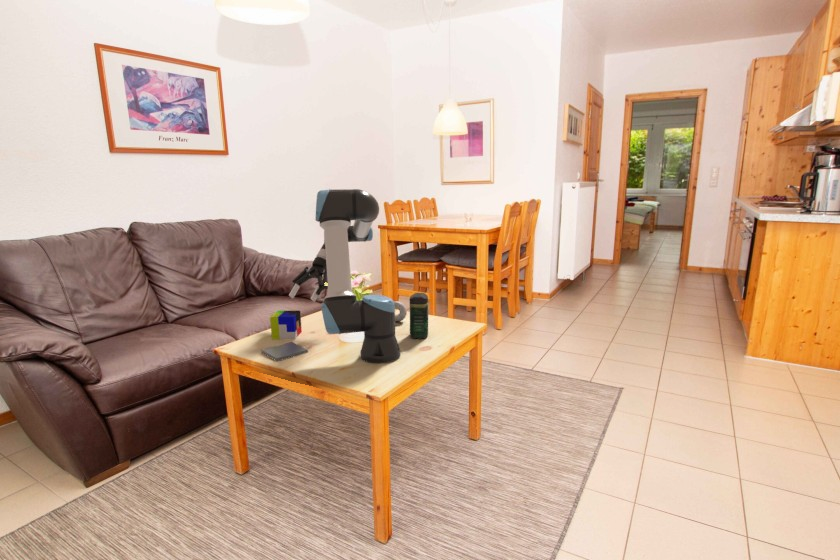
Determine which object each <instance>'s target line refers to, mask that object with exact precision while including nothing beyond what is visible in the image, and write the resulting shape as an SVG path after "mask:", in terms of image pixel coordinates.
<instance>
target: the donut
mask: <svg viewBox="0 0 840 560" xmlns="http://www.w3.org/2000/svg"><path fill="white" fill-rule="evenodd" d="M393 301H394V300H393ZM394 307H395V309H398V311H399V313H398V314H396V313H395V322H396V321H399V322H402V321H403V320H404V319H405V318H406V316H407V312H408V311H407V307H406V306H405V305H404V303H403V302H402V301H394Z"/></svg>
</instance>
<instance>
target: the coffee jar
mask: <svg viewBox="0 0 840 560" xmlns="http://www.w3.org/2000/svg"><path fill="white" fill-rule="evenodd" d="M409 336H410V338H414V339H416V338H421V339H424V338H427V337H428V336H429V295H428V294H426V293H424V292H415V293H413V294H412V295H410V296H409Z"/></svg>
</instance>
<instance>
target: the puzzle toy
mask: <svg viewBox="0 0 840 560" xmlns="http://www.w3.org/2000/svg"><path fill="white" fill-rule="evenodd" d="M301 317H302V316H301V310H277V311H275V312H274V313H273V314H272V315H271V316H270V317H269V319H270V321H269V322H270V332H271V340H296V339H297V338H298V337H299V336H300V334H302V331H303V330H302V329H303V328H302V318H301Z"/></svg>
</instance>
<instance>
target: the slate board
mask: <svg viewBox="0 0 840 560" xmlns="http://www.w3.org/2000/svg"><path fill="white" fill-rule="evenodd" d="M260 351H261V354H263V353H264V354H263V355H265V354H266V355H265V356H267V355H268V356H269V358H270V357H271V358H270V359H272V358H273V359H272V360H274V359H275V360H276V361H275V360H274V361H275V362H279V361H278V360H280V361H282V359H283V360H286V358H287V359H290V358H294V357H297V356H301V355H303V354H307V353H309V350H308V348H305V347H303V346H302V345H299V344H297V343H295V342H293V341H289V342H286V343H282V344H278V345H274V346H271V347H267V348H262V349H261V350H260ZM268 356H267V357H268ZM293 356H294V357H293Z"/></svg>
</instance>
